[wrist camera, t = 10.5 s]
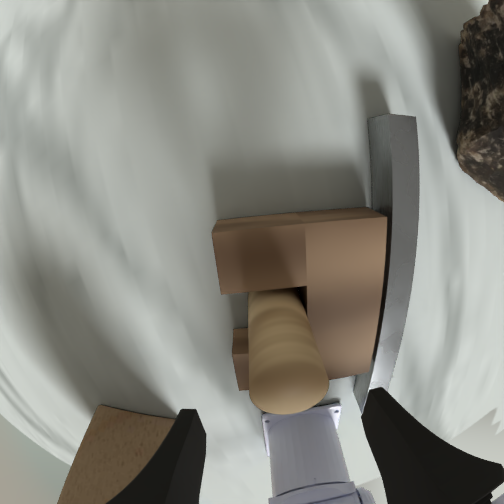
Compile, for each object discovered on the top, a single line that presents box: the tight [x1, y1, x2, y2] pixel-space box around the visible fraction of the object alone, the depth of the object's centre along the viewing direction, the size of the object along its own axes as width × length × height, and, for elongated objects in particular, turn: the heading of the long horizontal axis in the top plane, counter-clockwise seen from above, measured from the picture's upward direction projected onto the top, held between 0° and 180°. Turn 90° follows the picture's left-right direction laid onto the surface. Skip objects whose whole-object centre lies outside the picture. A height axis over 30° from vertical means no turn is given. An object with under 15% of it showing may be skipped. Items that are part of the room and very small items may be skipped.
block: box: [212, 207, 387, 391], centre depth 18 cm, size 12×10×3 cm
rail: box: [354, 114, 419, 413], centre depth 18 cm, size 24×2×3 cm, turn 6°
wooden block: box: [57, 405, 176, 504], centre depth 17 cm, size 10×10×20 cm
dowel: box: [248, 287, 329, 415], centre depth 16 cm, size 4×4×9 cm
